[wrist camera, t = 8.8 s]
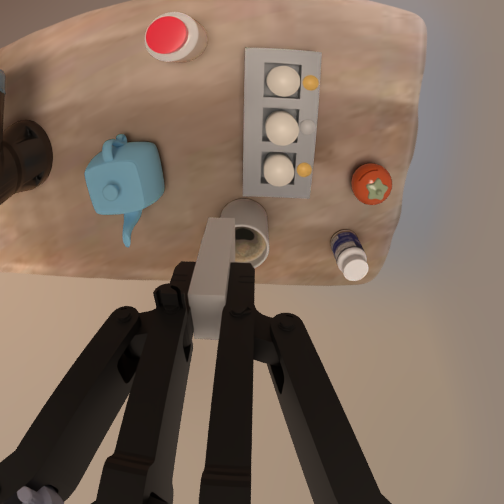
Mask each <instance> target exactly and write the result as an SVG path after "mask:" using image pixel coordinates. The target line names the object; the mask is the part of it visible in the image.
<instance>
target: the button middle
mask: <svg viewBox="0 0 504 504" xmlns="http://www.w3.org/2000/svg"><path fill="white" fill-rule="evenodd" d="M265 128H266V134H267V137H268V138H269V140H270V141H271V142H272V143H274V144H276V145H280V146H285V145H289V144H291V143H293V142H294V141H295V140H296V138H297V137H298V134H299V126H298V124H297V122H296V120H295V119H294V118H293V116H292V115H291V114H290V113H288V112H286V111H275V112H273V113H271V114H270V115H269V116H268V117H267V119H266V122H265Z"/></svg>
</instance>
